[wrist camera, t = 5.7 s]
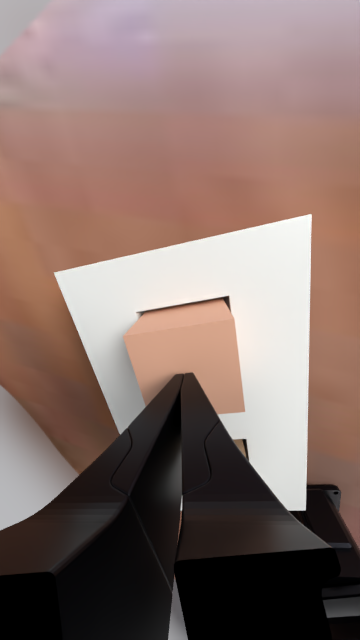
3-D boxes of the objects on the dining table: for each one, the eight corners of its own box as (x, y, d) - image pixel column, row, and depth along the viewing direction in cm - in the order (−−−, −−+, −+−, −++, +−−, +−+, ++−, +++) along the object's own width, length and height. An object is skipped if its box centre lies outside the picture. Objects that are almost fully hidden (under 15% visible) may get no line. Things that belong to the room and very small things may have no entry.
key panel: (285, 461, 19) (305, 510, 16) (159, 466, 22) (150, 510, 18) (277, 226, 12) (311, 213, 9) (91, 268, 15) (53, 272, 11)
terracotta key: (231, 366, 13) (245, 412, 9) (163, 374, 14) (150, 419, 10) (222, 297, 11) (234, 318, 8) (146, 311, 12) (122, 336, 8)
